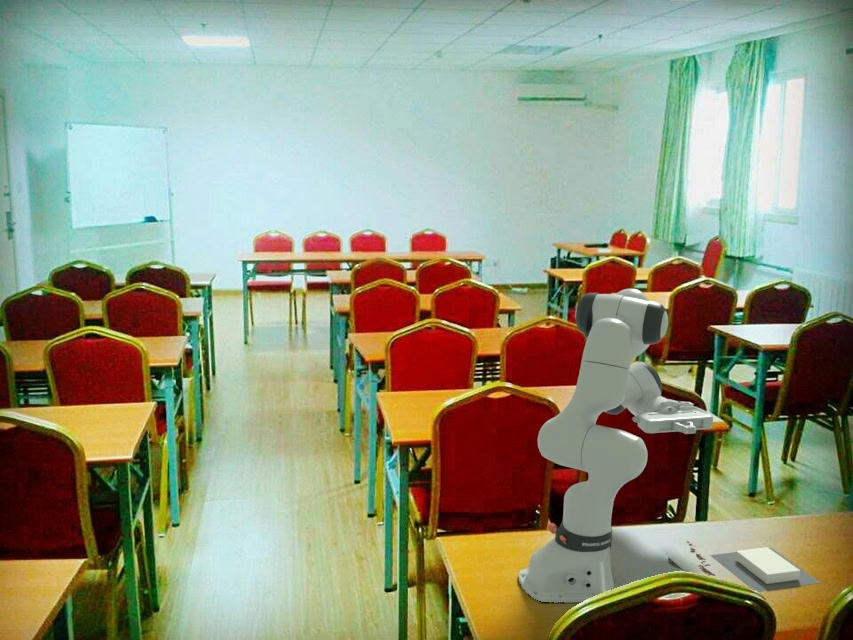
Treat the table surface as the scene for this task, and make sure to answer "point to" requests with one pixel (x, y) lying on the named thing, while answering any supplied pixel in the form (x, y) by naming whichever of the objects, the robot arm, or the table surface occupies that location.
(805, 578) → the mat
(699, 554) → the wooden fragment
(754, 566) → the tile
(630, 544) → the table surface
